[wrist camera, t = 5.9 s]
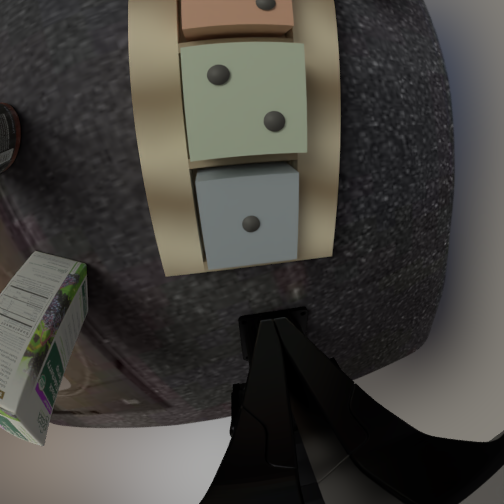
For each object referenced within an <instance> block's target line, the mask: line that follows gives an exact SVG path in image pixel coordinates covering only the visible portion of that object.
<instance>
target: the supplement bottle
mask: <svg viewBox="0 0 504 504" xmlns="http://www.w3.org/2000/svg"><path fill="white" fill-rule="evenodd" d="M20 141H21V126H20V120H19V117H18V115H17V113H16V111H15V110H14V108H13V107H12V106H10V105H9V104H6V103H0V174H1V173H2V172H4V171H5V170H7V169H8V168H9V167H10V166H11V164H13V162H14V160H15V158H16V156H17V153H18V150H19V147H20Z"/></svg>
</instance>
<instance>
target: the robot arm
mask: <svg viewBox="0 0 504 504" xmlns="http://www.w3.org/2000/svg"><path fill="white" fill-rule="evenodd" d="M301 312H302V313H301ZM307 318H308V310H307V308H306V307H298V308H292V309H286V310H279V311H273V312H266V313H259V314H252V315H244V316H241V317H239V319H238V322H239V330H240V338H241V345H242V353H243V359H244V360H246V361H249V366H250V369H249V373H248V377H247V382H246V383H242V384H239V383H237V384H233V392H232V393H231V418H232V420H231V426H230V436H231V437H232V438H231V440H230V443H229V446H228V448H227V451H226V453H225V455H224V457H223V460H222V462H221V464H220V466H219V468H218V471H217V473H216V475H215V477H214V479H213V482H212V484H211V486H210V487H209V489H208V491H207V493H206V494H205V496H204V498H203V499H202V500H201V502H200V503H199V504H504V431H503V432H501V433H500V434H499V435H497V436H496V437H494V438H493V439H492V440H490V441H489V442H473V441H463V440H455V439H447V438H440V437H435V436H430V435H427V434H425V433H422V432H420V431H418V430H417V429H415V428H414V427H412V426H410V425H409V424H407V423H406V422H405V421H403V420H401V419H400V418H399V417H397V416H396V415H394V414H393V413H391V412H390V411H389V410H387V409H386V408H384V407H383V406H382V405H380V404H379V403H377V402H376V401H375V400H374V399H372V398H371V397H370V396H369V395H368V394H367V393H365V392H364V391H363V390H362V389H361V388H360V387H359V386H358V385H357V384H354V381H352V380H351V379H350V378H349V377H348V376H347V375H346V374H345V373H344V372H343V371H342V370H341V369H340V367H339V365H338V364H337V362H336V360H335V359H334V357H332V358H330V359H329V358H328V357H327V356H326V355H325V354H324V353H323V352H321V351H320V350H319V349H318V348H317V347H316V346H315V345H314V344H313V343H312V342H311V341H310V340H309V339H308V338H307V337H306V336H305V334H306V327H307Z"/></svg>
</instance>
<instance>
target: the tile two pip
mask: <svg viewBox="0 0 504 504" xmlns="http://www.w3.org/2000/svg"><path fill="white" fill-rule="evenodd" d="M180 52H181V68H182V82H183V95H184V106H185V117H186V127H187V137H188V146H189V155H190V162H192V161H200V160H208V159H217V158H226V157H237V156H248V155H262V154H279V153H306V152H307V99H306V72H305V54H304V44H302V43H287V42H232V43H217V44H206V45H197V46H189V47H182V48H180Z"/></svg>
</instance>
